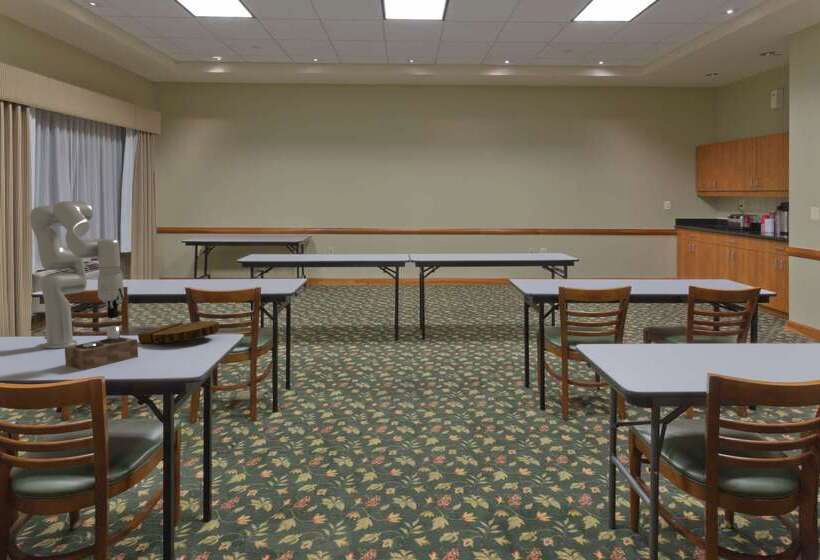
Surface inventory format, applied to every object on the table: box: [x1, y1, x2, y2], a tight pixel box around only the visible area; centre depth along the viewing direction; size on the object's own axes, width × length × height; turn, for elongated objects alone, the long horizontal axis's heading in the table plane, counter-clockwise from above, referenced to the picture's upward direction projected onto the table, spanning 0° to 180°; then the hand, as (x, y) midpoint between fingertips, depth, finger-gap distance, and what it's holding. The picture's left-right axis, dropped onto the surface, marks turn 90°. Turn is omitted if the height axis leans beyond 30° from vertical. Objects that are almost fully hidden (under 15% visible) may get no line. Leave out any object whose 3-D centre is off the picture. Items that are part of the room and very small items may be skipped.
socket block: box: [64, 336, 139, 371], centre depth 227 cm, size 12×22×8 cm, turn 153°
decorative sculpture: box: [137, 320, 220, 344], centre depth 265 cm, size 30×7×30 cm
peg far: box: [106, 325, 121, 341], centre depth 230 cm, size 4×4×8 cm
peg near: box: [82, 342, 96, 347], centre depth 222 cm, size 4×4×8 cm
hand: (113, 317), depth 229 cm, fingers closed
